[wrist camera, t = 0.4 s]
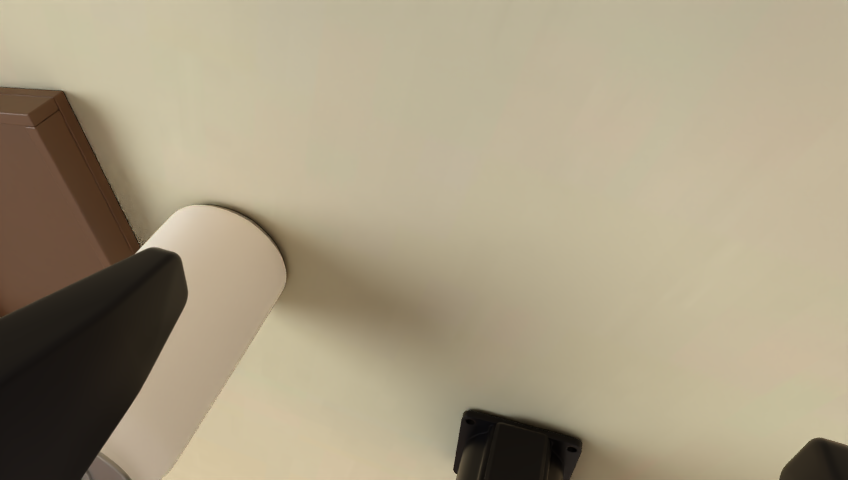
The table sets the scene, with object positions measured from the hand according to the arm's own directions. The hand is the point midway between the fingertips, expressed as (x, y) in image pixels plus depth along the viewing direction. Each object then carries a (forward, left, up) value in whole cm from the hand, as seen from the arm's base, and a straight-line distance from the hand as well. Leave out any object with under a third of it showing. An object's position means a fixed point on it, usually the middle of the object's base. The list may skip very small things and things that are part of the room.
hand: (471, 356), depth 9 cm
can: (-15, +14, -14) cm, 25 cm away
